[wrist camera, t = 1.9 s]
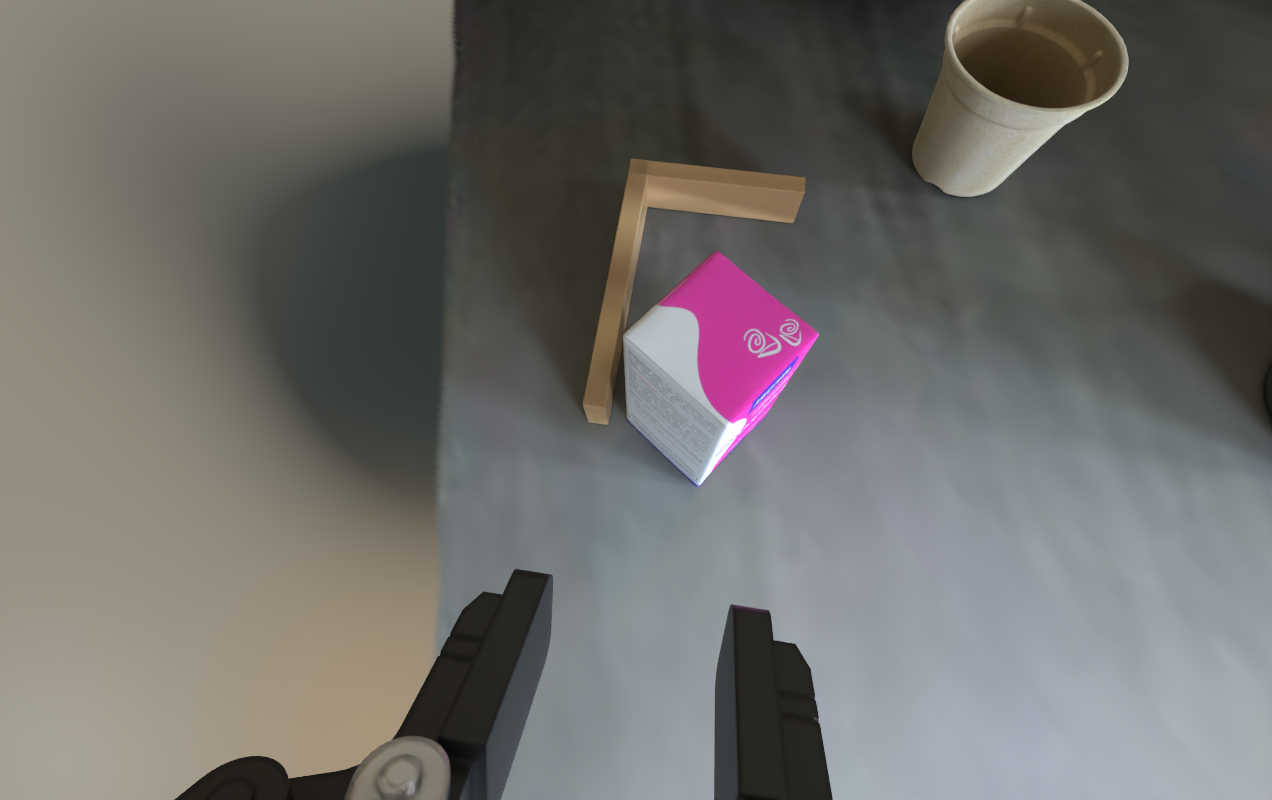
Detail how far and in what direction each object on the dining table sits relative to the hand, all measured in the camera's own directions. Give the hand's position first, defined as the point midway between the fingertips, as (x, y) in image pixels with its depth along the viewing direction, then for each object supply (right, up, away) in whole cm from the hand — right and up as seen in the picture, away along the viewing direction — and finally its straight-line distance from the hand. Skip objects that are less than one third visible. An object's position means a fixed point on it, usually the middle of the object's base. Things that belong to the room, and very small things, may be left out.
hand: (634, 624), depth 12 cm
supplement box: (+4, +3, +23) cm, 23 cm away
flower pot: (+22, +20, +28) cm, 41 cm away
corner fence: (+4, +10, +25) cm, 27 cm away
